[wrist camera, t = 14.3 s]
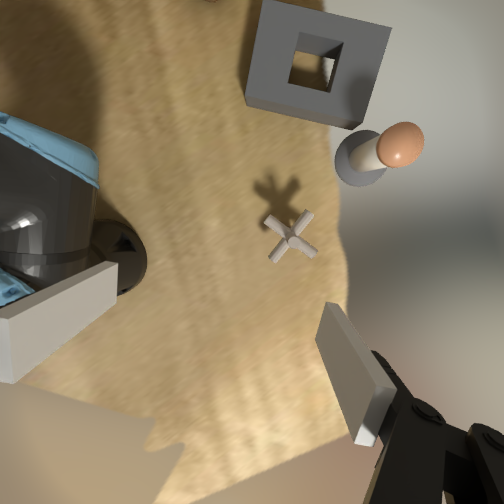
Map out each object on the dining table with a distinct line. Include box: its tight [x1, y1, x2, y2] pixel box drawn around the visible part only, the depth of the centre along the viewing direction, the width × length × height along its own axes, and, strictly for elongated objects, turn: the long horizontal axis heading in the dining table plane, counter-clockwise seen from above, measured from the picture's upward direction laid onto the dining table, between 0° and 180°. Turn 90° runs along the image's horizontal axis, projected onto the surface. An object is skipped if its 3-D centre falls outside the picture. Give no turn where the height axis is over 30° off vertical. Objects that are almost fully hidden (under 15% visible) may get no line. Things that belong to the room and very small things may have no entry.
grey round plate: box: [335, 130, 387, 187], centre depth 41 cm, size 9×9×1 cm
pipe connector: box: [264, 209, 318, 263], centre depth 40 cm, size 10×10×10 cm
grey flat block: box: [245, 0, 392, 130], centre depth 36 cm, size 18×12×4 cm, turn 77°
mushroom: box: [349, 122, 424, 172], centre depth 34 cm, size 5×5×12 cm
